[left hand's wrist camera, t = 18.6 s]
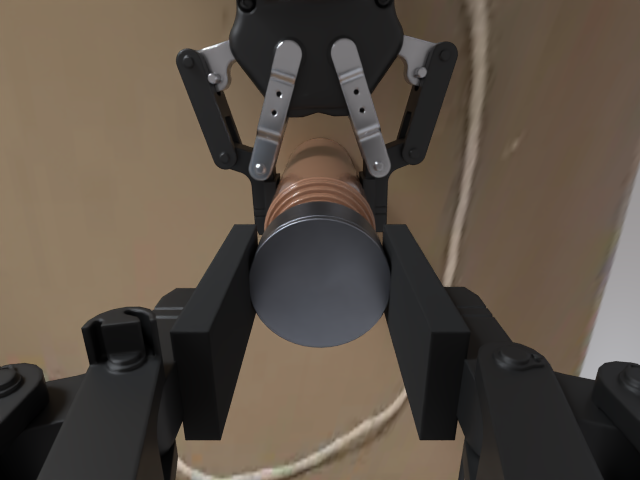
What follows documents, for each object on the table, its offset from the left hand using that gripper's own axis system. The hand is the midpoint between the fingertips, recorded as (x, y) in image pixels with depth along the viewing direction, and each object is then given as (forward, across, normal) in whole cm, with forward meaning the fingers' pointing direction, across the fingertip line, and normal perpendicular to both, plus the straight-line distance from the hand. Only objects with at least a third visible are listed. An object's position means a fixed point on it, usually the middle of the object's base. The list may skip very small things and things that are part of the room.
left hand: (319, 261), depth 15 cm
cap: (-2, 0, 0) cm, 2 cm away
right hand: (+10, 0, -3) cm, 10 cm away
